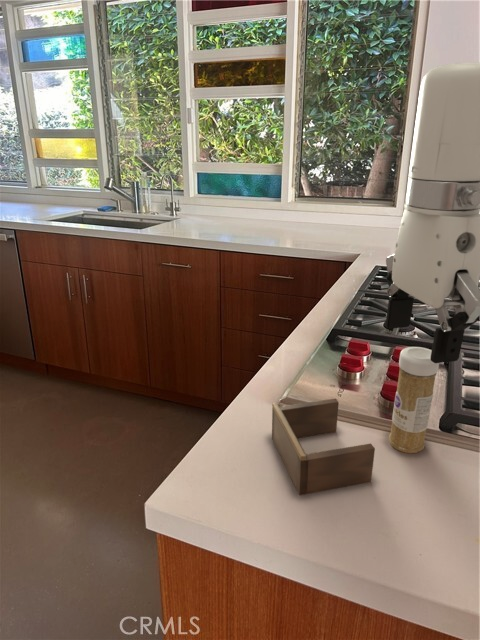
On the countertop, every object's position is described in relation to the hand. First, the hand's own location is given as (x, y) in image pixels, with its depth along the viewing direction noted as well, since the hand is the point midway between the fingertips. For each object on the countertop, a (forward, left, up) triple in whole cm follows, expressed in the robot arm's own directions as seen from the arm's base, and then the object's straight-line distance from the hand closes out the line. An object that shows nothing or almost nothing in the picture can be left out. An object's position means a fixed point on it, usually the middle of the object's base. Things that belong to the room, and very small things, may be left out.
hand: (418, 342), depth 56 cm
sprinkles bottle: (0, 0, -15) cm, 15 cm away
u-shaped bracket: (+12, 0, -15) cm, 19 cm away
